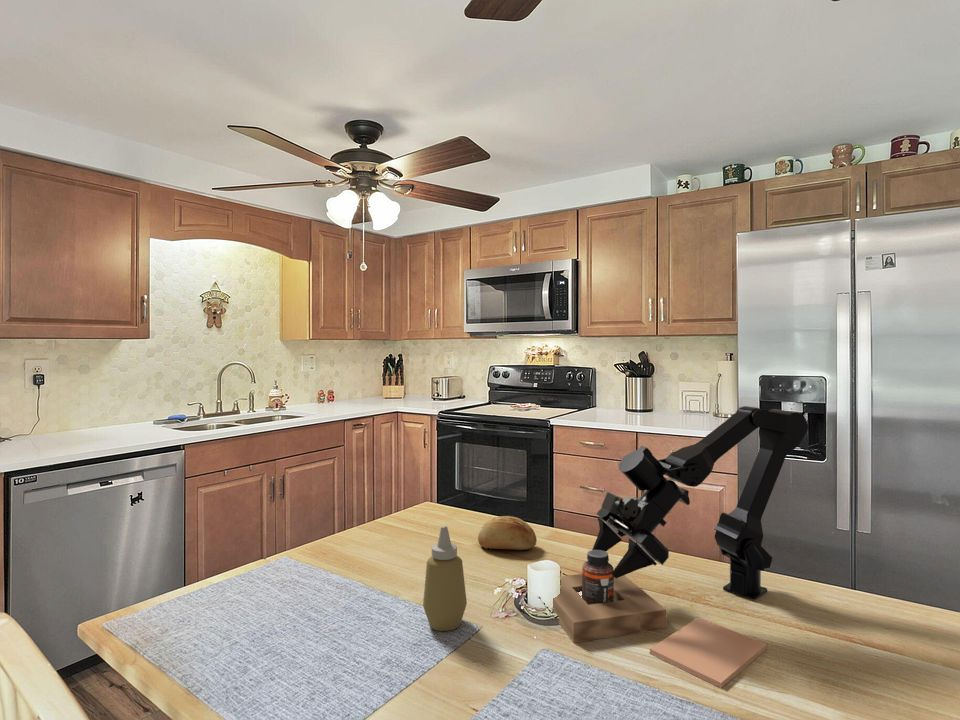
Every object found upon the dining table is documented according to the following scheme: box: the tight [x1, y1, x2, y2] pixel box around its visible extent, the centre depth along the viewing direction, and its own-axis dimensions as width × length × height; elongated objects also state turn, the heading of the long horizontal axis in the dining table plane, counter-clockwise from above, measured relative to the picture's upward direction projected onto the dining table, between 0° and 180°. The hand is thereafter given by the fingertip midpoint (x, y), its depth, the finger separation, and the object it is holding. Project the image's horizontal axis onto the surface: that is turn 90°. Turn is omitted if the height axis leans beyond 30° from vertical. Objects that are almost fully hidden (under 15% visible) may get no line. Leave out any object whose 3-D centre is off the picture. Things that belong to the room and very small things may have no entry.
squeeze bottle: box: [422, 525, 468, 632], centre depth 99 cm, size 8×8×18 cm
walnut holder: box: [553, 573, 667, 644], centre depth 104 cm, size 18×18×4 cm
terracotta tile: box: [649, 616, 768, 689], centre depth 90 cm, size 16×12×1 cm
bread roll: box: [477, 515, 537, 550], centre depth 137 cm, size 10×15×8 cm, turn 82°
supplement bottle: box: [581, 549, 615, 605], centre depth 104 cm, size 6×6×11 cm
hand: (602, 566), depth 104 cm, fingers open, 9 cm apart
